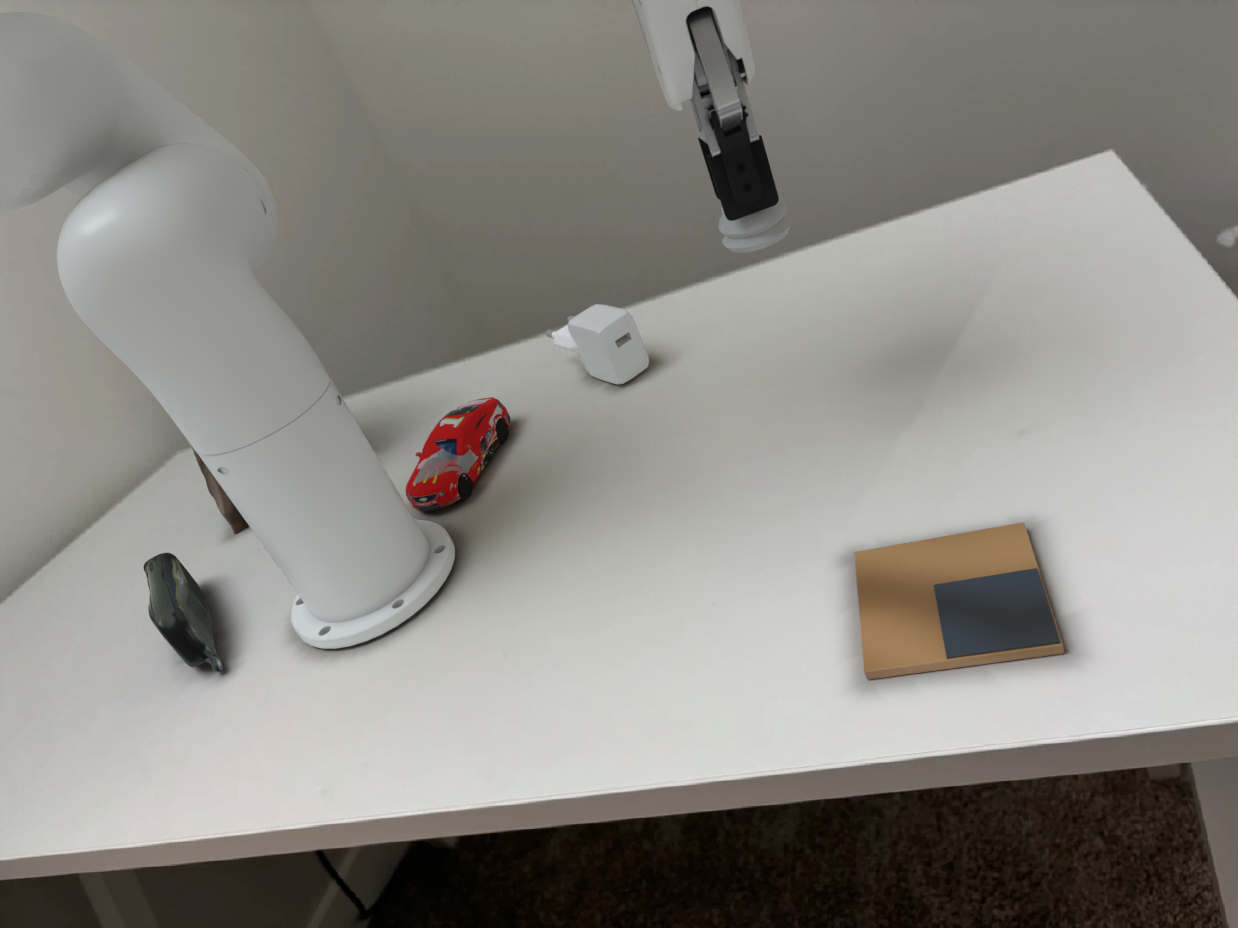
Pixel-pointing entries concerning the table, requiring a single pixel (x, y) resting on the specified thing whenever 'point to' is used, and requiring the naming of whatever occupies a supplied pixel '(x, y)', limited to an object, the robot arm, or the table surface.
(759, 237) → the rook chess piece
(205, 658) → the dark green oblong piece
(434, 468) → the race car
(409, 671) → the table surface
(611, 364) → the power adapter
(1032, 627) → the cork mat
